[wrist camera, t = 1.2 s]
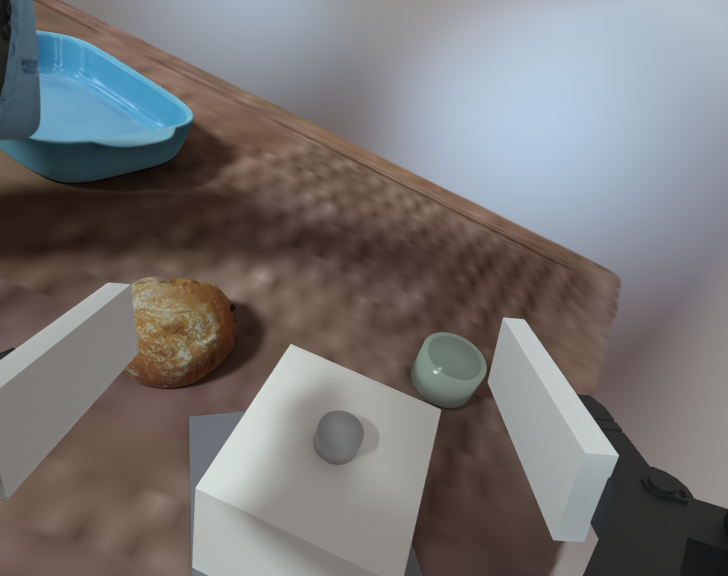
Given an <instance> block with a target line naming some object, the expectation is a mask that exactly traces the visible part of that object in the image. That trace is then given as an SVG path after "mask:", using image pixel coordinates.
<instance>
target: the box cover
mask: <svg viewBox="0 0 728 576" xmlns="http://www.w3.org/2000/svg"><path fill="white" fill-rule="evenodd" d="M440 413H441V409H439V408H436V407H434V406H432V405H430V404H427V403H425V402H423V401H420V400H418V399H416V398H413V397H411V396H409V395H407V394H404V393H402V392H400V391H397V390H395V389H393V388H391V387H388V386H386V385H384V384H381V383H379V382H377V381H374V380H372V379H370V378H368V377H365V376H363V375H361V374H358V373H356V372H354V371H351V370H349V369H347V368H345V367H342V366H340V365H338V364H335V363H333V362H331V361H328V360H326V359H324V358H322V357H319V356H317V355H315V354H312V353H310V352H308V351H306V350H303V349H301V348H299V347H296V346H294V345H292V344H291V345H290V346H289V348H288V349H287V351H286V352H285V354H284V355H283V357H282V358H281V360H280V361H279V363H278V364H277V366H276V367H275V369H274V370H273V372H272V373H271V375H270V376H269V378H268V379H267V381H266V382H265V384H264V385H263V387H262V388H261V390H260V391H259V393H258V394H257V396H256V397H255V399H254V400H253V402H252V403H251V405H250V406H249V408H248V409H247V411H246V412H245V414H244V415H243V417H242V418H241V420H240V421H239V423H238V425H237V426H236V428H235V429H234V431H233V432H232V434H231V435H230V437H229V438H228V440H227V441H226V443H225V444H224V446H223V447H222V449H221V450H220V452H219V453H218V455H217V456H216V458H215V459H214V461H213V462H212V464H211V465H210V467H209V468H208V470H207V471H206V473H205V474H204V476H203V477H202V479H201V480H200V482H199V483H198V485H197V486H196V488H195V510H194V535H193V560H192V568H194V569H196V570H198V571H200V572H202V573H204V574H206V575H208V576H404V573H405V569H406V565H407V560H408V556H409V551H410V547H411V542H412V538H413V533H414V529H415V525H416V520H417V516H418V511H419V507H420V502H421V498H422V493H423V489H424V484H425V480H426V476H427V471H428V467H429V462H430V458H431V453H432V449H433V444H434V440H435V435H436V431H437V427H438V422H439V418H440Z"/></svg>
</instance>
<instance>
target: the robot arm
mask: <svg viewBox="0 0 728 576" xmlns="http://www.w3.org/2000/svg"><path fill="white" fill-rule="evenodd" d="M40 119H41V97H40V79H39V70H38V47H37V35H36V24H35V15H34V6H33V0H0V140H11V139H25V138H28V137H30V136H32V135H33V134H35V132H36V131H37V130H38V128H39V126H40ZM138 353H139V351H138V343H137V334H136V326H135V318H134V309H133V301H132V292H131V285H130V284H119V283H107V284H106V285H104V286H103V287H101V288H100V289H99V290H97V291H96V292H95V293H93V294H92V295H90V296H89V297H88V298H86V299H85V300H83V301H82V302H81V303H79V304H78V305H76V306H75V307H74V308H72V309H71V310H69V311H68V312H67V313H65V314H64V315H62V316H61V317H60V318H58V319H57V320H56V321H54V322H53V323H51V324H50V325H49V326H47V327H46V328H44V329H43V330H42V331H40V332H39V333H37V334H36V335H35V336H33V337H32V338H30V339H29V340H28V341H26V342H25V343H23V344H22V345H21V346H19V347H18V348H11V349H9V350H6V351H4V352H2V353H0V499H8V498H9V497H10V496H11V495H12V494H13V493H14V491H15V490H16V489H17V488H18V487H19V486H20V485H21V484H22V483H23V481H24V480H25V479H26V478H27V477H28V476H29V475H30V474H31V472H32V471H33V470H34V469H35V468H36V467H37V466H38V465H39V464H40V462H41V461H42V460H43V459H44V458H45V457H46V456H47V455H48V453H49V452H50V451H51V450H52V449H53V448H54V447H55V446H56V445H57V443H58V442H59V441H60V440H61V439H62V438H63V437H64V436H65V434H66V433H67V432H68V431H69V430H70V429H71V428H72V427H73V426H74V424H75V423H76V422H77V421H78V420H79V419H80V418H81V417H82V415H83V414H84V413H85V412H86V411H87V410H88V409H89V408H90V407H91V405H92V404H93V403H94V402H95V401H96V400H97V399H98V398H99V396H100V395H101V394H102V393H103V392H104V391H105V390H106V389H107V388H108V386H109V385H110V384H111V383H112V382H113V381H114V380H115V379H116V377H117V376H118V375H119V374H120V373H121V372H122V371H123V370H124V369H125V367H126V366H127V365H128V364H129V363H130V362H131V361H132V360H133V358H134V357H135V356H136V355H137V354H138ZM488 384H489V387H490V389H491V391H492V394H493V396H494V399H495V401H496V404H497V406H498V408H499V411H500V413H501V416H502V418H503V420H504V423H505V425H506V428H507V430H508V432H509V435H510V437H511V440H512V442H513V445H514V447H515V449H516V452H517V454H518V457H519V459H520V461H521V464H522V466H523V469H524V471H525V473H526V476H527V478H528V481H529V483H530V486H531V488H532V490H533V493H534V495H535V498H536V500H537V502H538V505H539V507H540V510H541V512H542V514H543V517H544V519H545V522H546V524H547V527H548V529H549V531H550V534H551V536H552V539H553V540H558V541H572V542H584V541H585V538H586V536H587V533H588V531H589V529H590V526H591V525H592V527H593V529H594V531H595V533H596V534H597V537H598V538H599V540H598V542H597V545H596V547H595V549H594V551H593V554H592V556H591V558H590V561H589V563H588V565H587V568H586V570H585V572H584V574H583V576H728V509H725V508H723V507H719V506H716V505H713V504H710V503H706V502H703V501H699V500H697V499H694V498H693V496H692V494H691V493H690V491H689V490H688V488H687V487H686V486H685V485H684V484H682V483H681V482H680V481H679V480H678V479H677V478H675V477H673V476H671V475H670V474H668V473H667V472H665V471H662V470H659V469H657V468H654V467H650V466H649V465H648V464H647V462H646V461H645V460H644V458H643V457H642V456H641V454H640V453H639V452H638V450H637V449H636V448H635V447H634V445H633V444H632V443H631V441H630V440H629V439H628V438H627V436H626V435H625V433H622V429H621V428H620V427H619V426H618V424H617V423H616V422H614V419H613V417H611V415H610V413H609V412H608V411H607V409H606V408H605V407H604V406H603V405H601V404H600V403H599V402H597V401H596V400H595V399H593V398H592V397H591V396H590V395H579V394H576V393H575V392H574V390H573V389H572V387H571V386H570V384H569V383H568V382H567V380H566V379H565V377H564V376H563V374H562V373H561V371H560V370H559V369H558V367H557V366H556V364H555V363H554V361H553V360H552V358H551V357H550V356H549V354H548V353H547V351H546V350H545V348H544V347H543V346H542V344H541V343H540V341H539V340H538V338H537V337H536V335H535V334H534V333H533V331H532V330H531V328H530V327H529V325H528V324H527V323H526V321H525V320H524V319H515V318H504V317H503V320H502V324H501V328H500V332H499V337H498V341H497V345H496V349H495V353H494V357H493V362H492V366H491V370H490V374H489V378H488Z"/></svg>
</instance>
